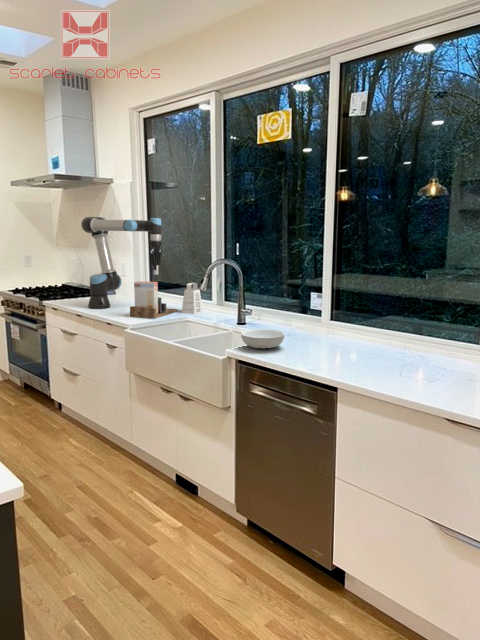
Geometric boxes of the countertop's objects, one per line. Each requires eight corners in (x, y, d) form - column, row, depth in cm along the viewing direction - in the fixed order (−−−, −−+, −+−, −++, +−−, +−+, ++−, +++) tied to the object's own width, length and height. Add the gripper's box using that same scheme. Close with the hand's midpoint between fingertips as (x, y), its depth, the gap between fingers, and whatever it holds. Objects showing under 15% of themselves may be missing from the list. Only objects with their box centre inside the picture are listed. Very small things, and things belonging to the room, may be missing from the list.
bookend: (141, 311, 312) (141, 296, 310) (149, 309, 321) (149, 294, 319) (160, 313, 307) (159, 298, 305) (167, 310, 316) (167, 296, 315)
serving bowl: (269, 340, 242) (269, 327, 241) (292, 349, 224) (293, 335, 223) (233, 344, 232) (233, 330, 231) (254, 354, 214) (254, 339, 213)
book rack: (130, 316, 304) (129, 306, 302) (155, 309, 332) (154, 300, 331) (154, 318, 297) (154, 308, 296) (177, 311, 326) (177, 302, 325)
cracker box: (158, 313, 307) (158, 281, 303) (154, 315, 301) (153, 282, 297) (139, 312, 310) (138, 280, 306) (134, 314, 304) (133, 281, 301)
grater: (202, 312, 324) (202, 283, 321) (194, 314, 315) (194, 284, 311) (190, 310, 329) (190, 282, 325) (181, 312, 320) (181, 283, 316)
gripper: (155, 240, 321) (155, 275, 325) (165, 240, 332) (165, 274, 337) (146, 240, 323) (146, 274, 328) (156, 240, 335) (156, 273, 340)
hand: (155, 274), depth 332 cm, fingers closed
